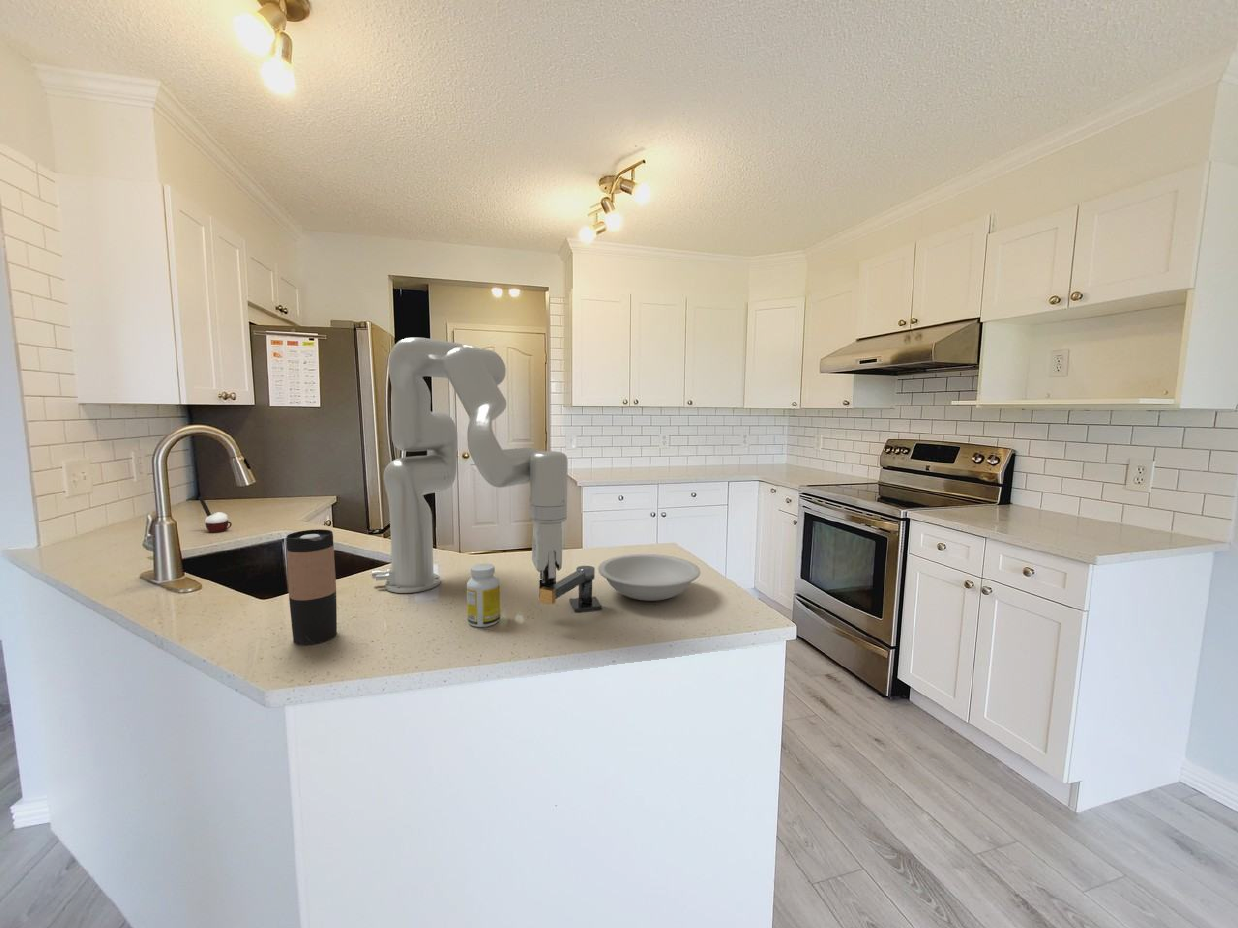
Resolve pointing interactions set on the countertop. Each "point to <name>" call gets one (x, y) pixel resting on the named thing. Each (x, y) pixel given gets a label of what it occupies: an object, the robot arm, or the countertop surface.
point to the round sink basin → (649, 575)
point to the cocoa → (215, 520)
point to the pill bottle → (483, 596)
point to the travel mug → (312, 586)
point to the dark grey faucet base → (585, 599)
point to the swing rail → (566, 584)
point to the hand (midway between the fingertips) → (547, 598)
